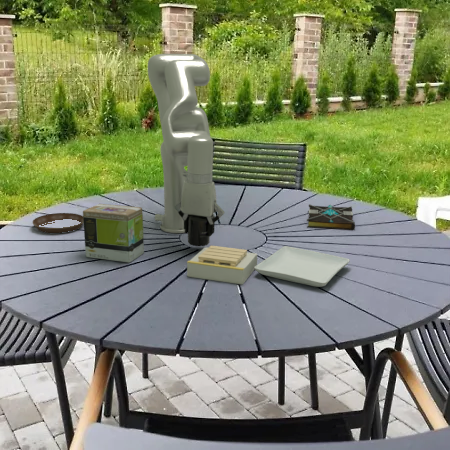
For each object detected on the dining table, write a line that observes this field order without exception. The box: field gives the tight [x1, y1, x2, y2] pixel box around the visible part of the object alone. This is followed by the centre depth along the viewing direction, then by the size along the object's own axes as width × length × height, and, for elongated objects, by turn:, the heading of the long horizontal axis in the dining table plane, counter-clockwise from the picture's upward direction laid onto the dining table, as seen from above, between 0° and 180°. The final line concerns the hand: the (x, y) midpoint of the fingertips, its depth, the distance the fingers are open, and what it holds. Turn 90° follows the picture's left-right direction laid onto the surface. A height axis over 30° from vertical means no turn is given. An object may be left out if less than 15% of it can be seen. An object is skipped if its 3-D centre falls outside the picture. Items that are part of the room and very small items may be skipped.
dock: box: [186, 245, 258, 285], centre depth 162 cm, size 16×14×6 cm
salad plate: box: [254, 245, 350, 288], centre depth 163 cm, size 21×21×3 cm
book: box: [306, 203, 356, 231], centre depth 212 cm, size 22×17×5 cm
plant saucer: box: [32, 212, 84, 234], centre depth 200 cm, size 18×18×3 cm
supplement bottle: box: [187, 215, 211, 247], centre depth 177 cm, size 7×7×12 cm
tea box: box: [82, 203, 145, 264], centre depth 172 cm, size 15×10×15 cm, turn 71°
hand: (198, 232), depth 178 cm, fingers closed on supplement bottle, 6 cm apart
